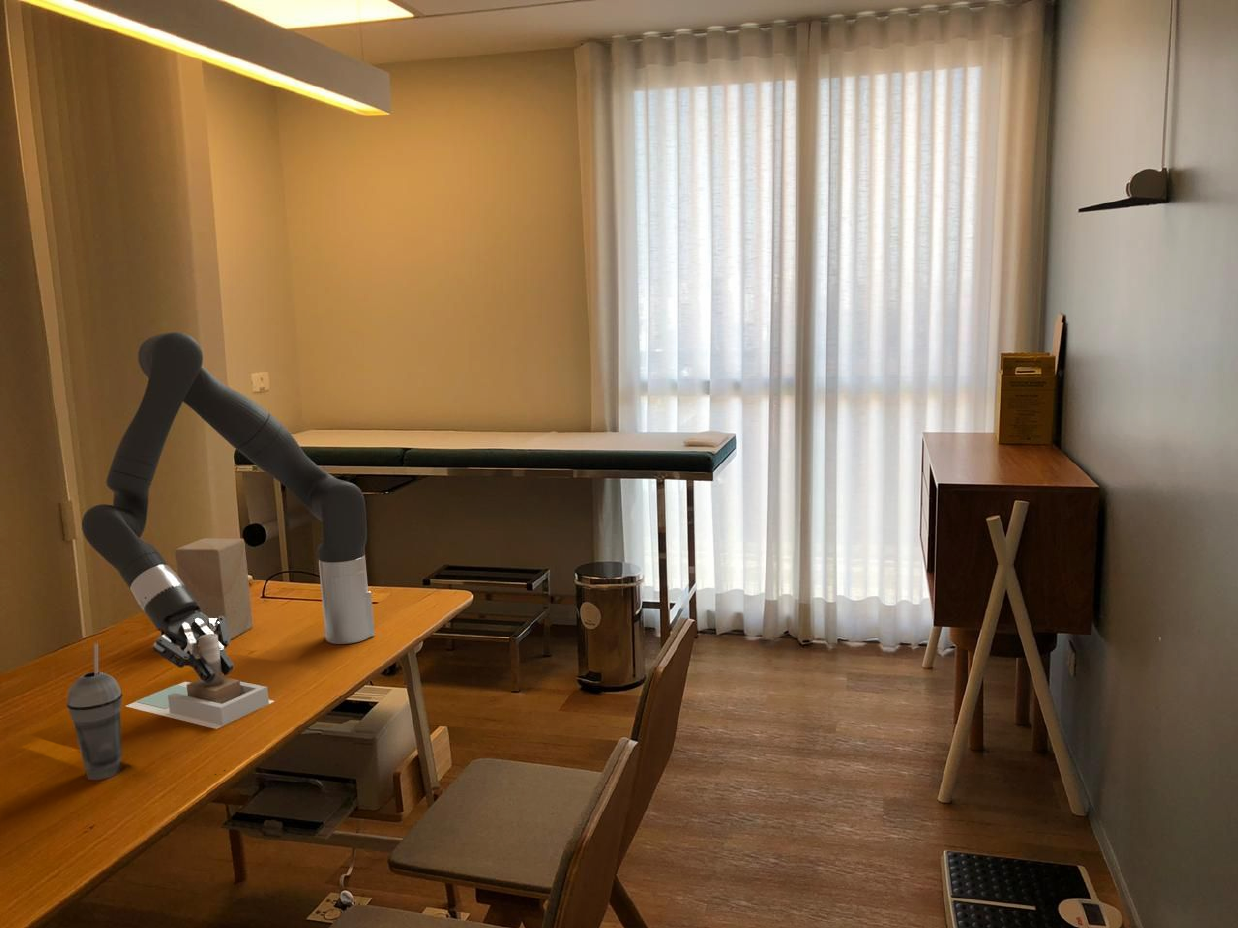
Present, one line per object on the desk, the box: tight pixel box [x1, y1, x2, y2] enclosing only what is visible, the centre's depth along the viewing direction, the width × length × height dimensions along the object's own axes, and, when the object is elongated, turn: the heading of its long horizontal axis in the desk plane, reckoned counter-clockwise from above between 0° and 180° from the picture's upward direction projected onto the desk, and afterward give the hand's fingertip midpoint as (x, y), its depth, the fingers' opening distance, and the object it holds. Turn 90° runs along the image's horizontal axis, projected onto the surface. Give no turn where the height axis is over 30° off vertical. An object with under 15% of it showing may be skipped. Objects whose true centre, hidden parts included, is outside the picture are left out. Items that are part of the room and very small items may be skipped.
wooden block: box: [174, 537, 254, 641], centre depth 206 cm, size 10×10×20 cm
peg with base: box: [187, 634, 241, 704], centre depth 163 cm, size 7×5×12 cm
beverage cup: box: [66, 643, 123, 781], centre depth 143 cm, size 7×7×20 cm
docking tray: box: [124, 680, 276, 730], centre depth 166 cm, size 23×12×4 cm, turn 62°
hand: (220, 675), depth 162 cm, fingers closed on peg with base, 3 cm apart
